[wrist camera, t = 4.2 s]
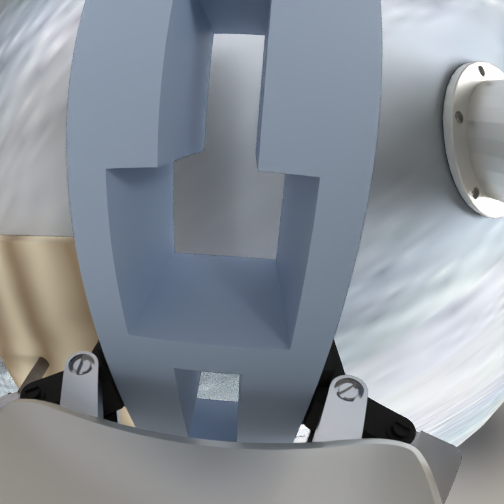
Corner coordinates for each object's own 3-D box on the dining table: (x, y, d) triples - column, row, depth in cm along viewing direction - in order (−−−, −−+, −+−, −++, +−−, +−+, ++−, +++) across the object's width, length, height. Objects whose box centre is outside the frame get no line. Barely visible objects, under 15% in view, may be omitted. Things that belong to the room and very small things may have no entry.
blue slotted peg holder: (325, -16, 6) (366, -86, 2) (270, 411, 15) (273, 481, 11) (168, -21, 6) (122, -87, 2) (175, 403, 15) (160, 470, 10)
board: (94, 237, 15) (28, 295, 9) (161, 464, 27) (156, 507, 21) (-34, 234, 14) (-84, 266, 7) (63, 439, 26) (50, 474, 19)
